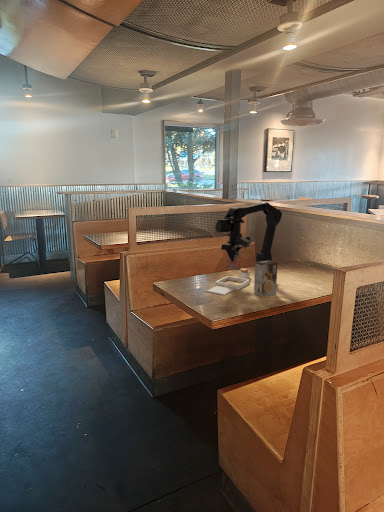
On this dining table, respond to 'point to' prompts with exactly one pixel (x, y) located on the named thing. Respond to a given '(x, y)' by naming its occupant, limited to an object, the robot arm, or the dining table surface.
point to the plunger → (244, 270)
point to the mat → (220, 290)
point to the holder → (242, 278)
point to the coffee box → (265, 278)
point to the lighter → (234, 261)
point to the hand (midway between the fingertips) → (233, 260)
